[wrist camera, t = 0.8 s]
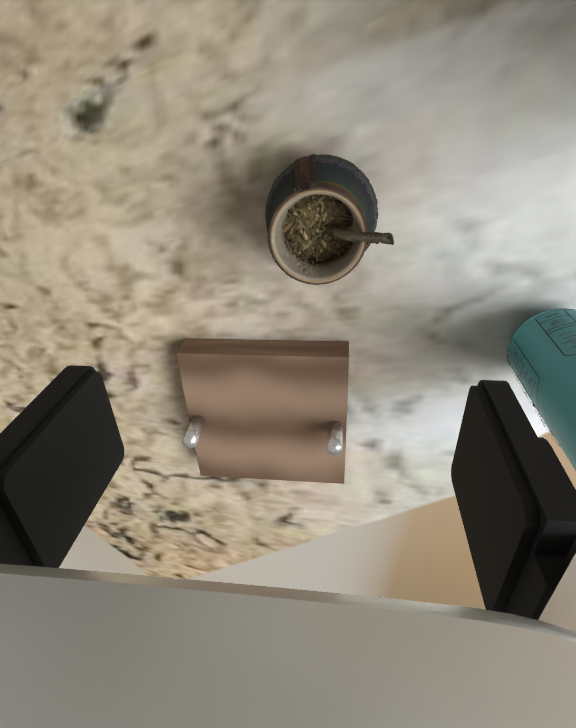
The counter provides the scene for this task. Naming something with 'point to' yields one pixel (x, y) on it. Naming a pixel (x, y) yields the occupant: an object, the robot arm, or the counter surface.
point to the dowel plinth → (266, 407)
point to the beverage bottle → (549, 371)
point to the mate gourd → (321, 219)
